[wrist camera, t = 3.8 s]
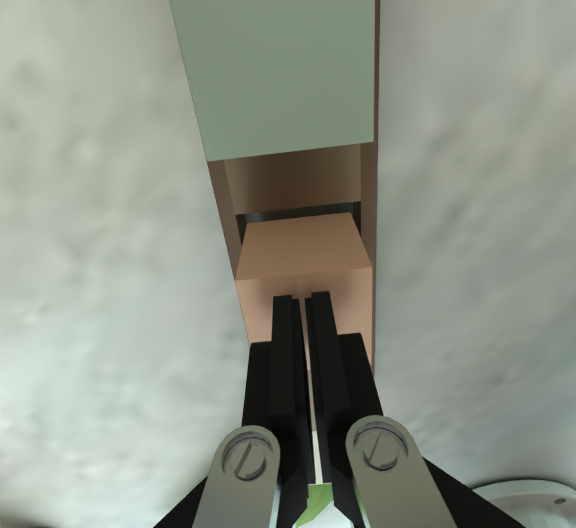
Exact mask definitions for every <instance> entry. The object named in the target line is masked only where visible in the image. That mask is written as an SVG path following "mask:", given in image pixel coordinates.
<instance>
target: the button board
mask: <svg viewBox="0 0 576 528" xmlns="http://www.w3.org/2000/svg"><path fill="white" fill-rule="evenodd" d="M171 10H172V9H171ZM174 23H175V22H174ZM379 34H380V0H375V44H374V142H367V143H358V144H350V145H341V146H333V147H325V148H316V149H308V150H300V151H291V152H283V153H274V154H266V155H258V156H249V157H241V158H232V159H224V160H216V161H207V164H208V168H209V173H210V177H211V181H212V185H213V190H214V194H215V198H216V203H217V207H218V211H219V215H220V220H221V224H222V228H223V233H224V237H225V241H226V245H227V250H228V254H229V258H230V263H231V267H232V271H233V276H234V280H235V278H236V273H237V268H238V264H239V259H240V254H241V250H242V245H243V241H244V236H245V231H246V227H247V226H246V221H245V216H244V214H247V213H256V212H265V211H274V210H283V209H292V208H301V207H311V206H320V205H329V204H338V203H347V202H353V220H354V222H355V225H356V227H357V230H358V232H359V235H360V237H361V240H362V242H363V245H364V247H365V250H366V252H367V255H368V257H369V260H370V262H371V265H372V358H371V365H370V367H371V371H372V375H373V378H374V355H375V291H376V226H377V162H378V98H379ZM178 40H179V39H178ZM181 53H182V52H181ZM185 70H186V69H185ZM188 83H189V82H188ZM192 100H193V99H192ZM195 113H196V112H195ZM199 130H200V129H199ZM202 143H203V142H202ZM206 160H207V159H206ZM237 293H238V292H237ZM240 306H241V305H240ZM244 323H245V322H244ZM247 336H248V335H247Z"/></svg>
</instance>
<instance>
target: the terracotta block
mask: <svg viewBox="0 0 576 528" xmlns="http://www.w3.org/2000/svg"><path fill="white" fill-rule="evenodd" d="M235 284H236V288H237V292H238V297H239V301H240V305H241V310H242V314H243V318H244V322H245V327H246V331H247V335H248V340H249V344H250V346H251V343H252V342H263V341H271V337H272V312H273V296H281V295H292V299H299V303H300V311H301V319H302V327H303V335H304V343H305V351H306V359H307V369H308V370H311V368H310V356H309V345H308V333H307V321H306V309H305V298H310V297H312V296H311V292H321V291H329V292H330V297H331V302H332V308H333V313H334V318H335V324H336V329H337V334H349V333H359V332H360V333H361V335H362V338H363V341H364V345H365V349H366V352H367V356H368V360H369V364H370V365H371V358H372V265H371V262H370V260H369V257H368V255H367V252H366V250H365V247H364V245H363V242H362V240H361V237H360V235H359V232H358V230H357V227H356V225H355V222H354V220H353V217H352V215H351V212H345V213H336V214H327V215H318V216H308V217H299V218H290V219H281V220H272V221H263V222H253V223H247V227H246V231H245V236H244V241H243V245H242V250H241V254H240V259H239V264H238V268H237V273H236V278H235Z"/></svg>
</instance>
